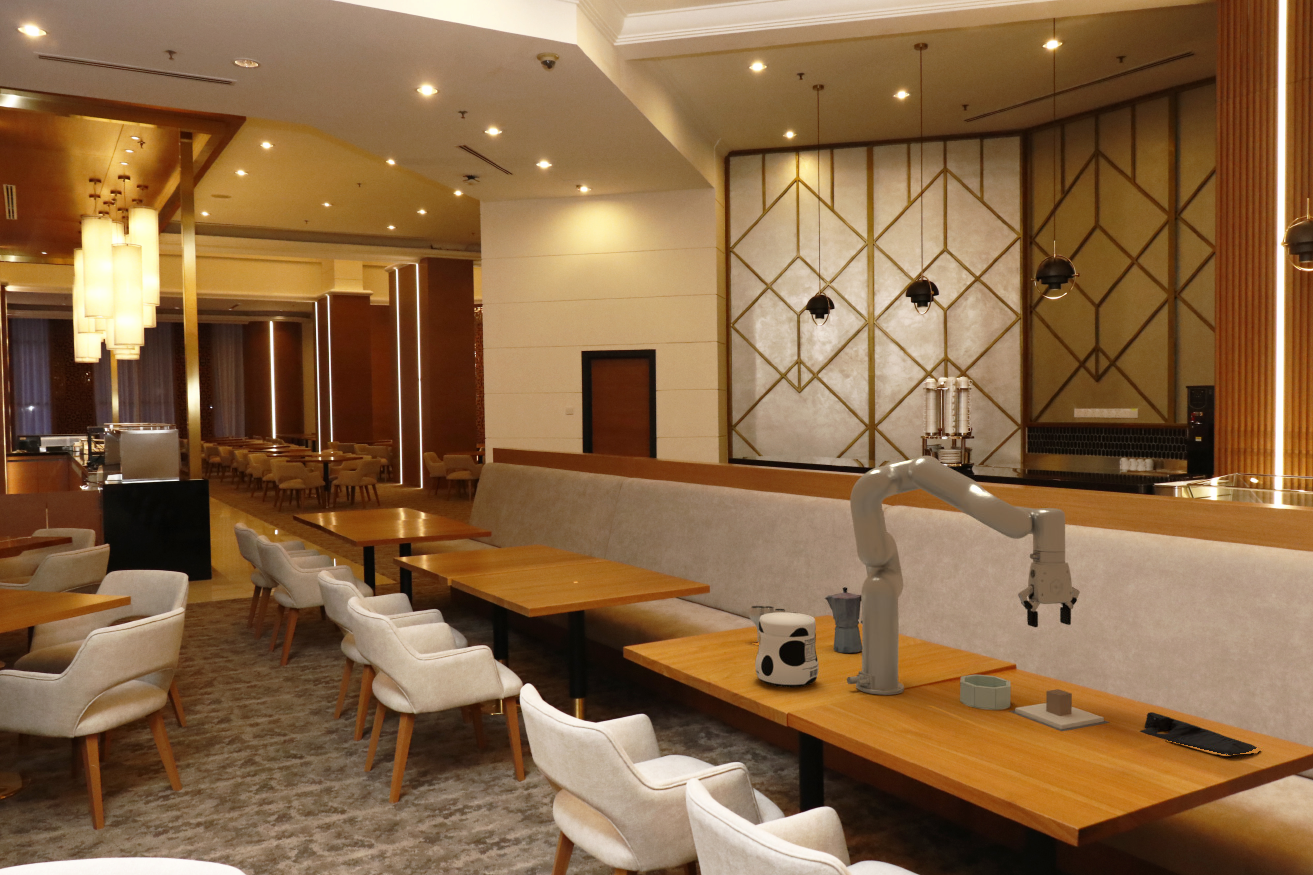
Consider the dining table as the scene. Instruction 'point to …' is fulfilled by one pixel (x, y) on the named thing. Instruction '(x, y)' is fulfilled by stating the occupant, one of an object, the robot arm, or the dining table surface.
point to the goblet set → (761, 610)
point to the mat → (1058, 728)
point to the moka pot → (846, 621)
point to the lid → (1059, 711)
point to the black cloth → (1193, 735)
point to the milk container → (787, 650)
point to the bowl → (985, 692)
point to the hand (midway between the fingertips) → (1049, 624)
